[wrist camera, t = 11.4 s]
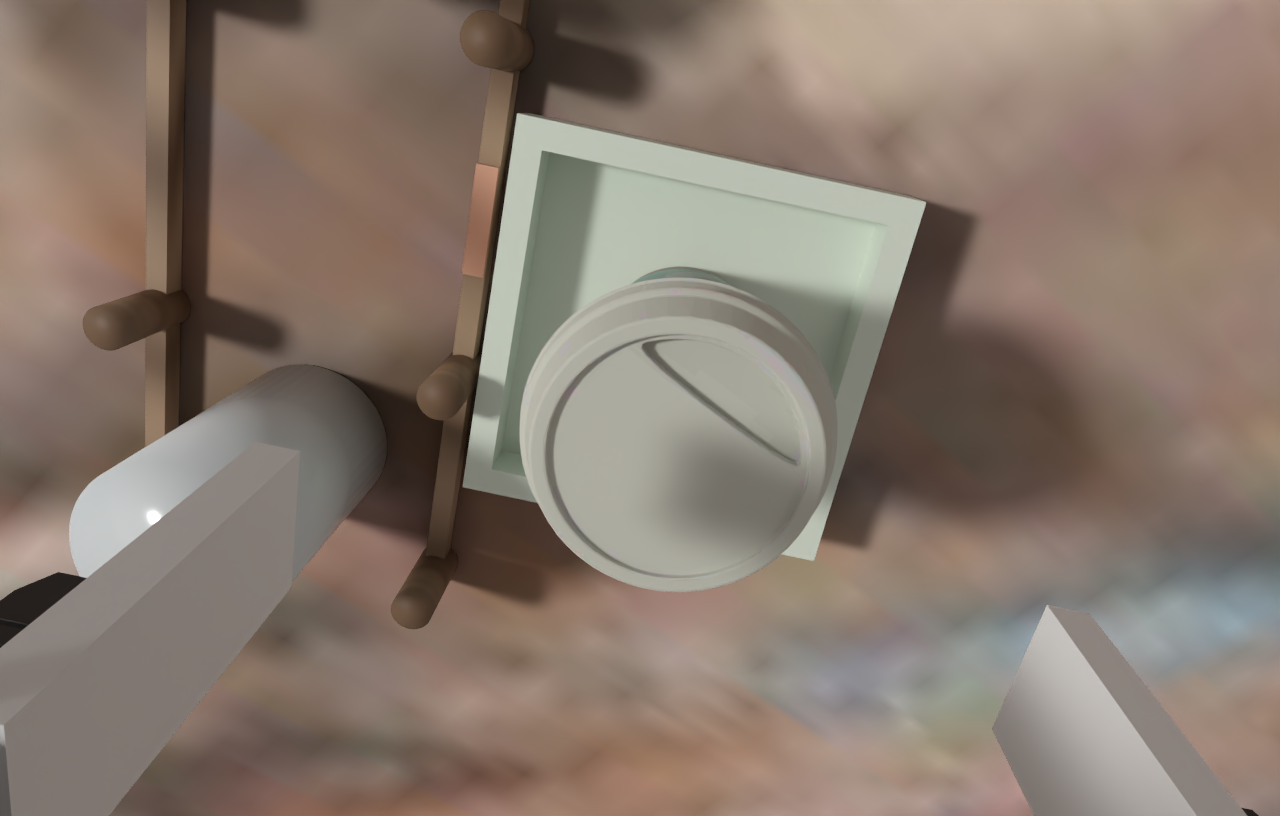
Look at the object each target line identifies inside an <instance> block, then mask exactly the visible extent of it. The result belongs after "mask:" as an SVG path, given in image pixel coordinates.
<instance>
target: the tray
mask: <svg viewBox="0 0 1280 816" xmlns="http://www.w3.org/2000/svg"><path fill="white" fill-rule="evenodd" d="M925 205H926V202H925V201H922V200H919V199H917V198H914V197H912V196H909V195H905V194H900V193H896V192H891V191H886V190H882V189H877V188H873V187H868V186H863V185H859V184H854V183H850V182H845V181H840V180H836V179H831V178H827V177H822V176H817V175H813V174H808V173H804V172H799V171H794V170H790V169H785V168H781V167H776V166H771V165H767V164H762V163H758V162H753V161H748V160H744V159H739V158H735V157H730V156H725V155H721V154H716V153H712V152H707V151H702V150H698V149H693V148H689V147H684V146H680V145H675V144H670V143H666V142H661V141H657V140H652V139H647V138H643V137H638V136H634V135H629V134H624V133H620V132H615V131H611V130H606V129H601V128H597V127H592V126H588V125H583V124H578V123H574V122H569V121H565V120H560V119H555V118H551V117H546V116H542V115H537V114H532V113H517V118H516V125H515V131H514V138H513V145H512V152H511V159H510V166H509V172H508V179H507V186H506V193H505V200H504V207H503V214H502V220H501V227H500V234H499V241H498V248H497V255H496V261H495V268H494V275H493V282H492V289H491V296H490V302H489V309H488V316H487V323H486V330H485V337H484V343H483V350H482V357H481V364H480V371H479V378H478V384H477V391H476V398H475V405H474V412H473V419H472V425H471V432H470V439H469V446H468V453H467V460H466V467H465V473H464V480H463V487H464V488H469V489H473V490H478V491H483V492H488V493H492V494H497V495H502V496H507V497H511V498H516V499H521V500H526V501H531V502H535V503H537V501H536V499H535V497H534V495H533V493H532V491H531V488H530V486H529V483H528V480H527V477H526V474H525V471H524V467H523V463H522V457H521V449H520V411H521V404H522V398H523V393H524V389H525V386H526V383H527V380H528V377H529V374H530V372H531V369H532V367H533V365H534V363H535V361H536V359H537V357H538V356H539V354H540V352H541V351H542V349H543V348H544V346H545V345H546V343H547V342H548V340H549V339H550V338H551V337H552V335H553V334H554V333H555V332H556V331H557V330H558V328H559V327H560V326H561V325H562V324H563V323H564V322H565V321H566V320H568V319H569V318H570V317H571V316H572V315H573V314H575V313H576V312H577V311H578V310H580V309H581V308H582V307H584V306H585V305H587V304H588V303H590V302H592V301H593V300H595V299H597V298H599V297H601V296H602V295H604V294H607V293H609V292H611V291H613V290H616V289H618V288H621V287H624V286H627V285H630V284H631V283H633V282H634V281H636V280H637V279H639V278H640V277H642V276H644V275H646V274H648V273H650V272H653V271H655V270H659V269H662V268H668V267H677V266H682V267H693V268H698V269H702V270H705V271H708V272H710V273H713V274H715V275H717V276H718V277H720V278H722V279H723V280H725V281H726V282H728V283H729V284H730V285H731V286H733V287H735V288H738V289H740V290H743V291H745V292H747V293H749V294H751V295H753V296H755V297H757V298H759V299H761V300H763V301H764V302H766V303H768V304H769V305H771V306H772V307H774V308H775V309H776V310H778V311H779V312H780V313H782V314H783V315H784V316H785V317H786V318H788V319H789V320H790V321H791V322H792V323H793V324H794V325H795V326H796V327H797V328H798V329H799V330H800V331H801V333H802V334H803V335H804V336H805V337H806V339H807V340H808V341H809V343H810V344H811V345H812V347H813V348H814V350H815V351H816V353H817V355H818V356H819V358H820V360H821V362H822V364H823V366H824V368H825V370H826V373H827V375H828V378H829V380H830V383H831V386H832V390H833V394H834V398H835V403H836V410H837V424H838V426H837V450H836V458H835V463H834V468H833V472H832V475H831V478H830V481H829V484H828V487H827V489H826V492H825V494H824V496H823V498H822V500H821V502H820V504H819V505H818V507H817V509H816V511H815V512H814V514H813V515H812V516H811V518H810V520H809V522H808V523H807V525H806V526H805V528H804V529H803V531H802V532H801V533H800V535H799V536H798V537H797V538H796V540H795V541H794V542H793V543H792V544H791V545H790V546H789V547H788V549H786V550H785V551H784V552H783V553H782V554H783V555H788V556H793V557H797V558H802V559H807V560H812V561H814V558H815V555H816V552H817V549H818V546H819V542H820V539H821V536H822V533H823V530H824V527H825V523H826V520H827V517H828V514H829V511H830V507H831V504H832V501H833V498H834V495H835V492H836V488H837V485H838V482H839V479H840V476H841V473H842V469H843V466H844V463H845V460H846V457H847V453H848V450H849V447H850V444H851V441H852V438H853V434H854V431H855V428H856V425H857V422H858V418H859V415H860V412H861V409H862V406H863V403H864V399H865V396H866V393H867V390H868V387H869V383H870V380H871V377H872V374H873V371H874V368H875V364H876V361H877V358H878V355H879V352H880V348H881V345H882V342H883V339H884V336H885V333H886V329H887V326H888V323H889V320H890V317H891V313H892V310H893V307H894V304H895V301H896V298H897V294H898V291H899V288H900V285H901V282H902V278H903V275H904V272H905V269H906V266H907V263H908V259H909V256H910V253H911V250H912V247H913V243H914V240H915V237H916V234H917V231H918V228H919V224H920V221H921V218H922V215H923V212H924V209H925Z"/></svg>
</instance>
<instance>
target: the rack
mask: <svg viewBox="0 0 1280 816" xmlns="http://www.w3.org/2000/svg"><path fill="white" fill-rule="evenodd" d="M529 4H530V0H500V5H499V12H498V14H497V13H495V12H492V11H488V10H481V11H477V12H474V13H472V14H471V15H470V16H469V17H467V19H466V20H465V21H464V23H463V25H462V28H461V32H460V42H461V46H462V49H463V51H464V53H465V55H466V56H467V57H468V58H469V59H470V60H471V61H472V62H474V63H475V64H477V65H480V66H483V67H488V68H491V72H490V79H489V87H488V94H487V102H486V109H485V117H484V124H483V132H482V139H481V147H480V154H479V162H478V163H476V170H475V177H474V185H473V192H472V200H471V207H470V215H469V222H468V230H467V237H466V245H465V252H464V260H463V267H462V274H463V281H462V289H461V296H460V303H459V311H458V318H457V326H456V333H455V341H454V348H453V353H452V354H451V355H450V356H449V357H448V358H447V359H446V360H445V361H444V362H443V363H442V364H441V365H440V366H439V367H438V368H437V369H436V370H435V371H434V372H433V373H432V374H431V375H430V376H429V377H428V378H427V379H426V380H425V381H424V382H423V383H422V384H421V385H420V387H419V388H418V391H417V403H418V406H419V408H420V409H421V411H422V412H423V413H424V414H425V415H427V416H428V417H430V418H432V419H435V420H444V423H443V430H442V438H441V445H440V453H439V460H438V468H437V475H436V483H435V490H434V498H433V505H432V513H431V520H430V528H429V535H428V543H427V548H426V549H425V550H424V551H423V553H422V555H421V556H420V558H419V559H418V561H417V563H416V564H415V566H414V568H413V569H412V571H411V573H410V574H409V576H408V578H407V579H406V581H405V583H404V584H403V586H402V588H401V589H400V591H399V593H398V594H397V596H396V598H395V599H394V601H393V603H392V605H391V613H392V616H393V618H394V620H395V621H396V622H397V623H398V624H400V625H401V626H403V627H405V628H409V629H419V628H422V627H424V626H425V625H426V624H427V623H428V622H429V621H430V619H431V617H432V615H433V613H434V611H435V609H436V607H437V605H438V603H439V601H440V599H441V597H442V595H443V593H444V591H445V589H446V587H447V585H448V583H449V581H450V580H451V578H452V576H453V574H454V572H455V570H456V568H457V564H458V559H457V556H456V554H455V552H454V551H453V550H452V549H451V542H452V535H453V528H454V521H455V515H456V508H457V501H458V494H459V487H460V480H461V473H462V466H463V459H464V452H465V446H466V439H467V432H468V425H469V418H470V411H471V404H472V397H473V391H474V390H475V389H476V388H477V384H478V378H479V371H480V364H481V357H482V355H481V354H480V353H479V349H480V342H481V335H482V328H483V321H484V314H485V308H486V301H487V294H488V287H489V280H490V273H491V266H492V259H493V252H494V245H495V239H496V232H497V225H498V218H499V211H500V204H501V197H502V190H503V183H504V176H505V170H506V163H507V156H508V149H509V142H510V135H511V128H512V121H513V114H514V107H515V101H516V94H517V87H518V80H519V73H520V71H521V70H523V69H525V68H526V67H527V66H528V65H529V64H530V62H531V60H532V58H533V55H534V43H533V40H532V37H531V36H530V34H529V33H528V31H527V30H526V25H527V18H528V11H529ZM185 50H186V0H147V87H146V290H145V291H142V292H139V293H136V294H133V295H130V296H127V297H124V298H121V299H118V300H115V301H112V302H109V303H106V304H102V305H99V306H96V307H93V308H91V309H90V310H88V311H87V312H86V314H85V316H84V318H83V329H84V332H85V334H86V336H87V338H88V339H89V340H90V341H91V342H92V343H93V344H94V345H95V346H97V347H99V348H101V349H104V350H116V349H119V348H121V347H124V346H126V345H129V344H131V343H133V342H136V341H138V340H141V339H143V338H145V337H146V358H145V447H147V446H148V445H150V444H152V443H153V442H155V441H156V440H158V439H160V438H161V437H163V436H165V435H166V434H168V433H169V432H171V431H173V430H174V429H176V428H177V427H179V378H180V324H181V323H182V322H184V321H185V320H186V319H187V318H188V316H189V314H190V311H191V305H190V301H189V299H188V297H187V295H186V294H185V293H184V292H183V291H182V290H181V269H182V214H183V160H184V105H185Z"/></svg>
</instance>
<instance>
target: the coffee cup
mask: <svg viewBox="0 0 1280 816" xmlns="http://www.w3.org/2000/svg"><path fill="white" fill-rule="evenodd" d="M837 426H838V424H837V410H836V403H835V398H834V394H833V390H832V386H831V383H830V380H829V378H828V375H827V373H826V370H825V368H824V366H823V364H822V362H821V360H820V358H819V356H818V355H817V353H816V351H815V350H814V348H813V347H812V345H811V344H810V343H809V341H808V340H807V339H806V337H805V336H804V335H803V334H802V333H801V331H800V330H799V329H798V328H797V327H796V326H795V325H794V324H793V323H792V322H791V321H790V320H789V319H788V318H786V317H785V316H784V315H783V314H782V313H780V312H779V311H778V310H776V309H775V308H774V307H772V306H771V305H769V304H768V303H766V302H764V301H763V300H761V299H759V298H757V297H755V296H753V295H751V294H749V293H747V292H745V291H743V290H740V289H738V288H735V287H733V286H731V285H730V284H729V283H728V282H726V281H725V280H723V279H722V278H720V277H718V276H717V275H715V274H713V273H710V272H708V271H705V270H702V269H698V268H693V267H682V266H677V267H668V268H662V269H659V270H655V271H653V272H650V273H648V274H646V275H644V276H642V277H640V278H639V279H637V280H636V281H634V282H633V283H631V284H630V285H627V286H624V287H621V288H618V289H616V290H613V291H611V292H609V293H607V294H604V295H602V296H601V297H599V298H597V299H595V300H593V301H592V302H590V303H588V304H587V305H585V306H584V307H582V308H581V309H580V310H578V311H577V312H576V313H575V314H573V315H572V316H571V317H570V318H569V319H568V320H566V321H565V322H564V323H563V324H562V325H561V326H560V327H559V328H558V330H557V331H556V332H555V333H554V334H553V335H552V337H551V338H550V339H549V340H548V342H547V343H546V345H545V346H544V348H543V349H542V351H541V352H540V354H539V356H538V357H537V359H536V361H535V363H534V365H533V367H532V369H531V372H530V374H529V377H528V380H527V383H526V386H525V389H524V393H523V398H522V404H521V411H520V449H521V457H522V463H523V467H524V471H525V474H526V477H527V480H528V483H529V486H530V488H531V491H532V493H533V495H534V497H535V499H536V501H537V503H538V504H539V506H540V508H541V510H542V512H543V514H544V516H545V517H546V519H547V521H548V522H549V524H550V525H551V527H552V528H553V530H554V531H555V533H556V534H557V535H558V537H559V538H560V539H561V540H562V541H563V542H564V543H565V544H566V546H567V547H568V548H570V549H571V550H572V551H573V552H574V553H575V554H576V555H577V556H578V557H580V558H581V559H582V560H584V561H585V562H586V563H588V564H589V565H590V566H592V567H593V568H595V569H597V570H598V571H600V572H602V573H604V574H606V575H608V576H610V577H612V578H614V579H616V580H618V581H621V582H624V583H627V584H630V585H633V586H636V587H641V588H645V589H650V590H656V591H665V592H693V591H701V590H708V589H712V588H717V587H721V586H724V585H727V584H730V583H733V582H736V581H739V580H741V579H743V578H745V577H747V576H749V575H751V574H753V573H755V572H757V571H759V570H760V569H762V568H763V567H765V566H766V565H768V564H770V563H771V562H773V561H774V560H775V559H776V558H777V557H778V556H779V555H781V554H782V553H783V552H784V551H785V550H786V549H788V547H789V546H790V545H791V544H792V543H793V542H794V541H795V540H796V538H797V537H798V536H799V535H800V533H801V532H802V531H803V529H804V528H805V526H806V525H807V523H808V522H809V520H810V518H811V516H812V515H813V514H814V512H815V511H816V509H817V507H818V505H819V504H820V502H821V500H822V498H823V496H824V494H825V492H826V489H827V487H828V484H829V481H830V478H831V475H832V472H833V468H834V463H835V458H836V450H837Z"/></svg>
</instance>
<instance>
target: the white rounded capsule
mask: <svg viewBox="0 0 1280 816" xmlns="http://www.w3.org/2000/svg"><path fill="white" fill-rule="evenodd" d="M255 442H259V443H264V444H269V445H274V446H278V447H283V448H288V449H293V450H298V451H300V462H299V478H298V493H297V509H296V524H295V540H294V555H293V571H292V581H293V580H294V579H295V578H296V577H297V575H298V574H299V573H300V572H301V571H302V570H303V568H304V567H305V566H306V565H307V564H308V562H309V561H310V560H311V559H312V558H313V556H314V555H315V554H316V553H317V552H318V551H319V549H320V548H321V547H322V546H323V545H324V543H325V542H326V541H327V540H328V539H329V538H330V536H331V535H332V534H333V533H334V532H335V530H336V529H337V528H338V527H339V526H340V525H341V523H342V522H343V521H344V520H345V519H346V517H347V516H348V515H349V514H350V513H351V512H352V510H353V509H354V508H355V507H356V506H357V504H358V503H359V502H360V501H361V500H362V498H363V497H364V496H365V495H366V494H367V493H368V491H369V490H370V489H371V488H372V487H373V485H374V484H375V483H376V481H377V480H378V478H379V477H380V475H381V473H382V471H383V468H384V465H385V461H386V456H387V438H386V432H385V428H384V425H383V422H382V419H381V417H380V415H379V413H378V411H377V409H376V407H375V406H374V405H373V403H372V402H371V400H370V399H369V398H368V397H367V396H366V394H365V393H364V392H363V391H362V390H361V389H360V388H358V387H357V386H356V385H355V384H354V383H352V382H351V381H350V380H348V379H347V378H345V377H343V376H341V375H340V374H338V373H336V372H333V371H331V370H328V369H325V368H321V367H318V366H312V365H288V366H283V367H279V368H276V369H274V370H271V371H269V372H267V373H265V374H264V375H262V376H260V377H259V378H257V379H255V380H254V381H252V382H250V383H249V384H247V385H246V386H244V387H242V388H241V389H239V390H238V391H236V392H234V393H233V394H231V395H229V396H228V397H226V398H225V399H223V400H221V401H220V402H218V403H216V404H215V405H213V406H212V407H210V408H208V409H207V410H205V411H203V412H202V413H200V414H199V415H197V416H195V417H194V418H192V419H190V420H189V421H187V422H186V423H184V424H182V425H181V426H179V427H177V428H176V429H174V430H173V431H171V432H169V433H168V434H166V435H165V436H163V437H161V438H160V439H158V440H156V441H155V442H153V443H152V444H150V445H148V446H147V447H145V448H143V449H142V450H140V451H139V452H137V453H135V454H134V455H132V456H130V457H129V458H127V459H126V460H124V461H122V462H121V463H119V464H117V465H116V466H114V467H113V468H111V469H109V470H108V471H106V472H104V473H103V474H101V475H100V476H98V477H97V478H96V479H95V480H93V481H92V482H91V483H90V484H89V485H88V486H87V487H86V488H85V489H84V491H83V492H82V493H81V495H80V497H79V498H78V500H77V502H76V504H75V506H74V509H73V512H72V515H71V520H70V527H69V540H70V549H71V553H72V557H73V561H74V564H75V566H76V569H77V571H78V573H79V575H80V577H84V578H88V577H89V576H90V575H91V574H93V573H94V572H95V571H96V570H97V569H99V568H100V567H101V566H102V565H104V564H105V563H106V562H107V561H109V560H110V559H111V558H112V557H114V556H115V555H116V554H117V553H119V552H120V551H121V550H122V549H123V548H125V547H126V546H127V545H128V544H130V543H131V542H132V541H133V540H135V539H136V538H137V537H138V536H140V535H141V534H142V533H143V532H145V531H146V530H147V529H148V528H149V527H151V526H152V525H153V524H154V523H156V522H157V521H158V520H159V519H161V518H162V517H163V516H164V515H166V514H167V513H168V512H169V511H171V510H172V509H173V508H174V507H176V506H177V505H178V504H179V503H180V502H182V501H183V500H184V499H185V498H187V497H188V496H189V495H190V494H192V493H193V492H194V491H195V490H197V489H198V488H199V487H200V486H202V485H203V484H204V483H205V482H206V481H208V480H209V479H210V478H211V477H213V476H214V475H215V474H216V473H218V472H219V471H220V470H221V469H223V468H224V467H225V466H226V465H228V464H229V463H230V462H231V461H232V460H234V459H235V458H236V457H237V456H239V455H240V454H241V453H242V452H244V451H245V450H246V449H247V448H249V447H250V446H251V445H252V444H254V443H255Z"/></svg>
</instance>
